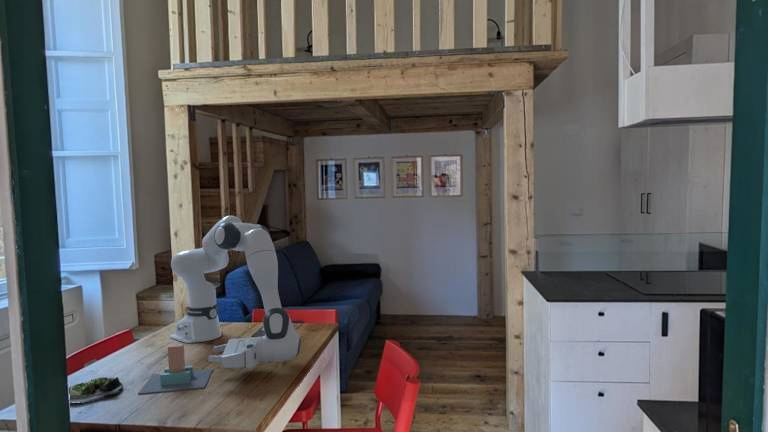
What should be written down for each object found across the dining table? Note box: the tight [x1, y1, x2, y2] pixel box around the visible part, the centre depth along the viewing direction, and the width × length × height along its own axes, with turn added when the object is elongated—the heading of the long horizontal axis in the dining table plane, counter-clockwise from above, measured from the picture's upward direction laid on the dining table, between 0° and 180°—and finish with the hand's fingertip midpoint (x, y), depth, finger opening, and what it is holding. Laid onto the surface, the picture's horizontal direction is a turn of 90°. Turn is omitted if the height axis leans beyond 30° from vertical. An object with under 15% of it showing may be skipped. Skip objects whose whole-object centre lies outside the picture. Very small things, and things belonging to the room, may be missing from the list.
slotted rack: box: [160, 365, 195, 386], centre depth 162 cm, size 9×6×4 cm
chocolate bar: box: [250, 326, 265, 337], centre depth 218 cm, size 9×1×18 cm
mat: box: [137, 368, 214, 395], centre depth 162 cm, size 20×16×1 cm
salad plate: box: [68, 376, 124, 405], centre depth 153 cm, size 19×18×5 cm
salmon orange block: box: [167, 343, 186, 373], centre depth 162 cm, size 4×2×12 cm, turn 101°
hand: (211, 353), depth 164 cm, fingers open, 8 cm apart
